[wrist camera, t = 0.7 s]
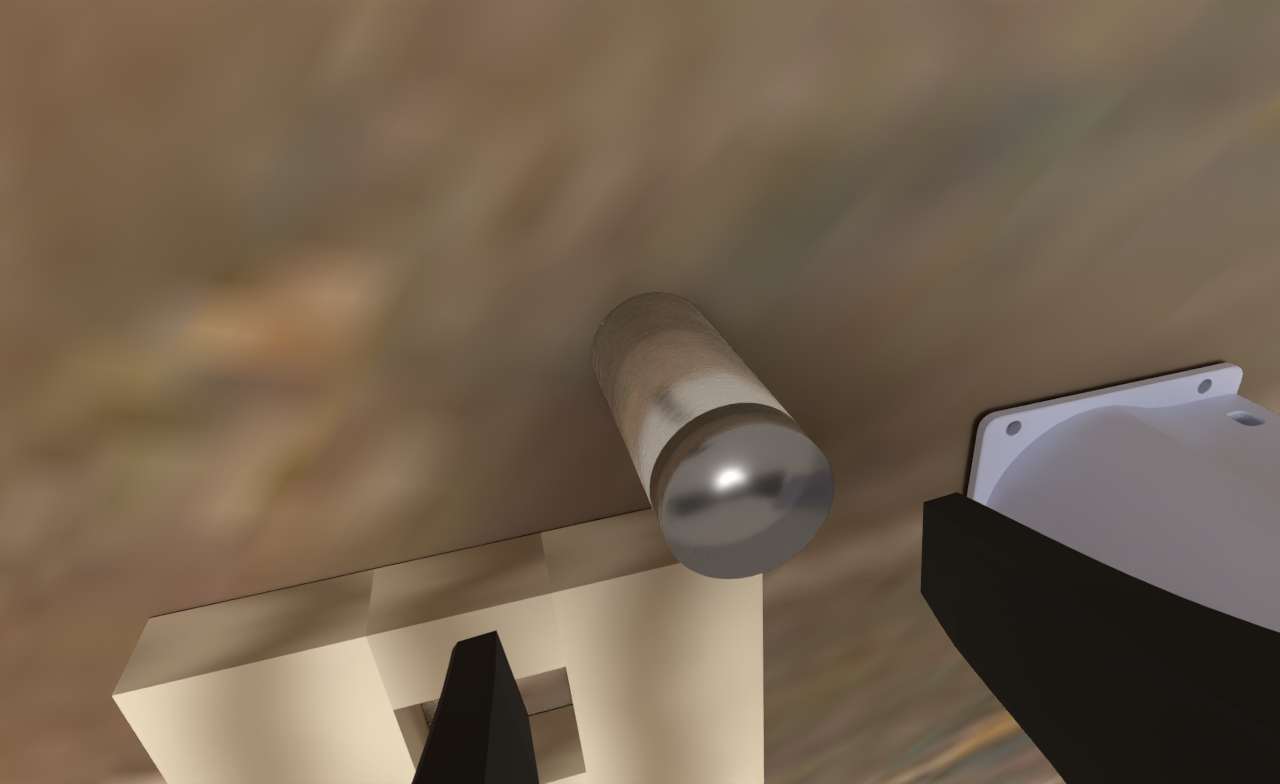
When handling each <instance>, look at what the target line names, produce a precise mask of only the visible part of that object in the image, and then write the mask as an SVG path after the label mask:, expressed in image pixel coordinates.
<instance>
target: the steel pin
mask: <svg viewBox="0 0 1280 784" xmlns="http://www.w3.org/2000/svg"><path fill="white" fill-rule="evenodd" d="M592 364H593V369H594V372H595V374H596V377H597V379H598V382H599V384H600V386H601V389H602V391H603V393H604V396H605V398H606V400H607V403H608V405H609V407H610V410H611V412H612V415H613V417H614V419H615V422H616V424H617V426H618V429H619V431H620V433H621V436H622V438H623V440H624V443H625V445H626V447H627V450H628V452H629V454H630V457H631V459H632V462H633V464H634V466H635V469H636V471H637V473H638V476H639V478H640V480H641V483H642V485H643V487H644V490H645V492H646V494H647V497H648V499H649V501H650V504H651V506H652V509H653V511H654V513H655V516H656V518H657V520H658V523H659V525H660V527H661V530H662V532H663V534H664V537H665V539H666V541H667V544H668V546H669V548H670V550H671V551H672V553H673V554H674V556H675V557H676V558H677V559H678V561H680V562H681V563H682V564H683V565H684V566H685V567H687V568H689V569H690V570H692V571H694V572H696V573H698V574H700V575H704V576H707V577H711V578H717V579H739V578H746V577H751V576H755V575H758V574H761V573H764V572H767V571H769V570H772V569H774V568H776V567H777V566H779V565H781V564H783V563H785V562H786V561H788V560H789V559H791V558H792V557H794V556H795V555H796V554H797V553H799V552H800V551H801V550H802V549H803V548H804V547H805V546H806V545H807V544H808V543H809V542H810V541H811V540H812V539H813V538H814V536H815V535H816V534H817V532H818V531H819V530H820V528H821V527H822V525H823V523H824V521H825V519H826V517H827V515H828V512H829V510H830V507H831V503H832V499H833V492H834V480H833V475H832V471H831V468H830V465H829V463H828V461H827V459H826V457H825V456H824V454H823V453H822V452H821V451H820V449H819V448H818V447H817V446H816V445H815V444H814V443H813V441H812V440H811V439H810V438H809V437H808V436H807V434H806V433H805V432H804V431H803V430H802V429H801V428H800V426H799V425H798V424H797V423H796V422H795V421H794V419H793V418H792V417H791V416H790V415H789V414H788V413H787V411H786V410H785V409H784V408H783V407H782V406H781V404H780V403H779V402H778V401H777V400H776V399H775V398H774V396H773V395H772V394H771V393H770V392H769V391H768V389H767V388H766V387H765V386H764V385H763V384H762V383H761V381H760V380H759V379H758V378H757V377H756V376H755V374H754V373H753V372H752V371H751V370H750V369H749V368H748V366H747V365H746V364H745V363H744V362H743V361H742V360H741V358H740V357H739V356H738V355H737V354H736V353H735V351H734V350H733V349H732V348H731V347H730V346H729V345H728V343H727V342H726V341H725V340H724V339H723V338H722V336H721V335H720V334H719V333H718V332H717V331H716V330H715V328H714V327H713V326H712V325H711V324H710V323H709V321H708V320H707V319H706V318H705V317H704V316H703V315H702V313H701V312H700V311H699V310H698V309H697V308H696V307H695V306H694V305H693V304H692V303H690V302H689V301H687V300H686V299H683V298H681V297H679V296H676V295H673V294H668V293H647V294H643V295H639V296H636V297H633V298H631V299H629V300H627V301H625V302H623V303H622V304H620V305H619V306H617V307H616V308H615V309H614V310H613V311H612V312H611V313H610V314H609V315H608V316H607V317H606V318H605V319H604V321H603V322H602V324H601V325H600V327H599V329H598V331H597V333H596V336H595V338H594V342H593V347H592Z"/></svg>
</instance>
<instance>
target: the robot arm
mask: <svg viewBox="0 0 1280 784" xmlns="http://www.w3.org/2000/svg"><path fill="white" fill-rule="evenodd" d="M1242 375H1243V372H1242V369H1241V368H1240V367H1238V366H1236V365H1234V364H1231V363H1221V364H1217V365H1212V366H1207V367H1203V368H1198V369H1193V370H1189V371H1184V372H1179V373H1175V374H1170V375H1165V376H1161V377H1156V378H1151V379H1147V380H1142V381H1137V382H1132V383H1128V384H1123V385H1118V386H1114V387H1109V388H1104V389H1100V390H1095V391H1090V392H1086V393H1081V394H1076V395H1072V396H1067V397H1062V398H1058V399H1053V400H1048V401H1044V402H1039V403H1034V404H1029V405H1025V406H1020V407H1015V408H1011V409H1006V410H1001V411H997V412H993V413H991V414H988V415H987V416H986V417H984V418H983V419H982V421H981V422H980V424H979V427H978V430H977V436H976V442H975V449H974V455H973V461H972V467H971V474H970V480H969V486H968V492H967V497H966V496H964V495H962V494H960V493H958V492H956V493H953V494H950V495H946V496H943V497H939V498H936V499H933V500H929V501H926V502H924V506H923V537H922V567H921V593H922V595H923V597H924V598H925V600H926V602H927V603H928V605H929V606H930V608H931V610H932V611H933V613H934V615H935V616H936V618H937V619H938V621H939V623H940V624H941V626H942V627H943V629H944V630H945V632H946V633H947V635H948V636H949V638H950V639H951V641H952V642H953V644H954V646H955V647H956V648H957V649H958V651H959V652H960V653H961V654H962V656H963V657H964V658H965V659H966V661H967V662H968V663H969V664H970V666H971V667H972V668H973V669H974V671H975V672H976V673H977V674H978V675H979V677H980V678H981V679H982V680H983V682H984V683H985V684H986V685H987V687H988V688H989V689H990V690H991V691H992V693H993V694H994V695H995V696H996V697H997V699H998V700H999V701H1000V702H1001V703H1002V705H1003V706H1004V707H1005V708H1006V710H1007V711H1008V712H1009V713H1010V714H1011V716H1012V717H1013V718H1014V719H1015V720H1016V722H1017V723H1018V724H1019V725H1020V726H1021V728H1022V729H1023V730H1024V731H1025V733H1026V734H1027V735H1028V736H1029V737H1030V739H1031V740H1032V741H1033V742H1034V743H1035V745H1036V746H1037V747H1038V748H1039V750H1040V751H1041V752H1042V753H1043V754H1044V756H1045V757H1046V758H1047V759H1048V760H1049V762H1050V763H1051V764H1052V765H1053V767H1054V768H1055V769H1056V771H1057V772H1058V773H1059V775H1060V776H1061V777H1062V778H1063V780H1064V781H1065V782H1066V784H1280V414H1278V413H1276V412H1273V411H1271V410H1269V409H1267V408H1265V407H1263V406H1261V405H1259V404H1257V403H1255V402H1253V401H1250V400H1248V399H1246V398H1244V397H1242V396H1240V395H1238V394H1237V391H1238V388H1239V385H1240V383H1241V380H1242ZM1011 422H1012V423H1011ZM1010 423H1011V425H1010V426H1009V427H1008V425H1009V424H1010ZM1007 427H1008V428H1007ZM411 784H539V778H538V771H537V765H536V759H535V752H534V746H533V740H532V734H531V728H530V722H529V716H528V713H527V711H526V708H525V705H524V703H523V700H522V697H521V695H520V692H519V689H518V686H517V684H516V681H515V678H514V676H513V673H512V670H511V668H510V665H509V662H508V660H507V657H506V654H505V652H504V649H503V646H502V643H501V641H500V638H499V635H498V633H497V630H495V631H492V632H489V633H485V634H482V635H479V636H475V637H472V638H469V639H465V640H462V641H459V642H457V643H456V645H455V646H454V647H453V649H452V652H451V657H450V661H449V666H448V670H447V673H446V677H445V681H444V685H443V688H442V692H441V695H440V699H439V702H438V706H437V709H436V712H435V715H434V719H433V722H432V725H431V728H430V731H429V734H428V737H427V740H426V743H425V746H424V749H423V752H422V755H421V758H420V760H419V763H418V766H417V769H416V772H415V775H414V778H413V780H412V783H411Z"/></svg>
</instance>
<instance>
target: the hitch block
mask: <svg viewBox="0 0 1280 784" xmlns="http://www.w3.org/2000/svg"><path fill="white" fill-rule="evenodd" d="M495 630H497V633H498V635H499V638H500V641H501V643H502V646H503V649H504V652H505V654H506V657H507V660H508V662H509V665H510V668H511V670H512V673H513V676H514V678H515V679H519V678H523V677H527V676H531V675H535V674H539V673H543V672H547V671H551V670H555V669H559V668H563V667H566V669H567V674H568V679H569V685H570V690H571V695H572V700H573V705H570V706H566V707H563V708H559V709H555V710H551V711H547V712H543V713H540V714H536V715H532V716H529V722H530V728H531V734H532V740H533V746H534V752H535V759H536V765H537V771H538V778H539V784H764V740H763V589H762V573H761V574H758V575H755V576H751V577H746V578H739V579H717V578H711V577H707V576H704V575H700V574H698V573H696V572H694V571H692V570H690V569H689V568H687V567H685V566H684V565H683V564H682V563H681V562H680V561H678V559H677V558H676V557H675V556H674V554H673V553H672V551H671V550H670V548H669V546H668V544H667V541H666V539H665V537H664V534H663V532H662V530H661V527H660V525H659V523H658V520H657V518H656V516H655V513H654V511H653V509H652V508H651V509H647V510H642V511H637V512H633V513H628V514H624V515H619V516H615V517H610V518H606V519H601V520H596V521H592V522H587V523H583V524H578V525H574V526H569V527H564V528H560V529H555V530H551V531H546V532H542V533H537V534H532V535H528V536H523V537H519V538H514V539H510V540H505V541H501V542H496V543H491V544H487V545H482V546H478V547H473V548H469V549H464V550H459V551H455V552H450V553H446V554H441V555H437V556H432V557H427V558H423V559H418V560H414V561H409V562H405V563H400V564H396V565H391V566H386V567H382V568H377V569H373V570H368V571H364V572H359V573H354V574H350V575H345V576H341V577H336V578H332V579H327V580H322V581H318V582H313V583H309V584H304V585H300V586H295V587H291V588H286V589H281V590H277V591H272V592H268V593H263V594H259V595H254V596H249V597H245V598H240V599H236V600H231V601H227V602H222V603H217V604H213V605H208V606H204V607H199V608H195V609H190V610H186V611H181V612H176V613H172V614H167V615H163V616H158V617H154V618H149V620H148V622H147V624H146V626H145V628H144V630H143V632H142V635H141V637H140V639H139V641H138V643H137V645H136V647H135V649H134V651H133V653H132V655H131V657H130V659H129V661H128V663H127V665H126V667H125V670H124V672H123V674H122V676H121V678H120V680H119V682H118V684H117V686H116V688H115V690H114V692H113V694H112V697H113V699H114V700H115V702H116V703H117V705H118V706H119V708H120V710H121V711H122V713H123V714H124V716H125V717H126V719H127V721H128V722H129V724H130V725H131V727H132V728H133V730H134V732H135V733H136V735H137V736H138V738H139V739H140V741H141V743H142V744H143V746H144V747H145V749H146V750H147V752H148V753H149V755H150V757H151V758H152V760H153V761H154V763H155V764H156V766H157V768H158V769H159V771H160V772H161V774H162V775H163V777H164V779H165V780H166V782H167V783H168V784H411V783H412V780H413V778H414V775H415V772H416V769H417V766H418V763H419V760H420V758H421V755H422V752H423V749H424V746H425V743H426V740H427V737H428V734H429V728H428V725H427V723H426V720H425V717H424V714H423V711H422V708H421V705H420V703H423V702H427V701H431V700H435V699H439V698H440V695H441V692H442V688H443V685H444V681H445V677H446V673H447V670H448V666H449V661H450V657H451V652H452V649H453V647H454V646H455V645H456V643H457V642H459V641H462V640H465V639H469V638H472V637H475V636H479V635H482V634H485V633H489V632H492V631H495Z"/></svg>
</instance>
